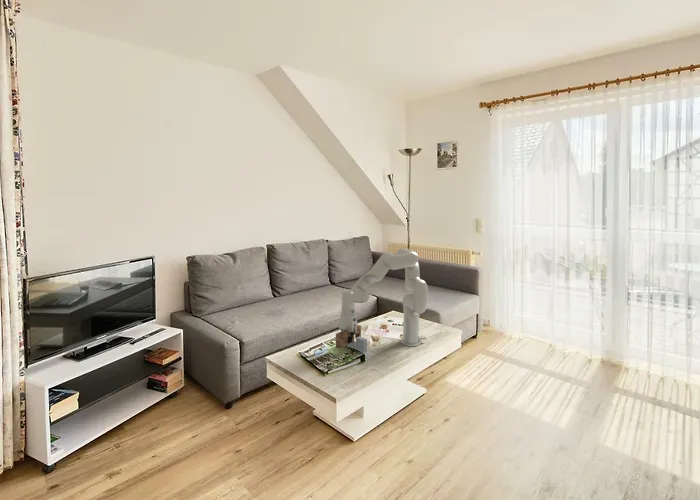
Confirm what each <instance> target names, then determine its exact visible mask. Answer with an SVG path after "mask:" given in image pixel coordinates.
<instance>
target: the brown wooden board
mask: <svg viewBox="0 0 700 500" xmlns="http://www.w3.org/2000/svg"><path fill="white" fill-rule="evenodd" d="M353 332H354V331H353ZM348 336H349V331H346V330H343V331H341V330H340V331H339V332H337V333H335V348H337V349H341V348H344V347H345V346H346V345H348V344H350V343H348ZM359 336H360V337H362V325H360V324H357V333H356V334H354V335H353V340H352V342H354V341H355V339H356V338H357V337H359ZM352 342H351V343H352Z"/></svg>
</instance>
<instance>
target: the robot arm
mask: <svg viewBox="0 0 700 500" xmlns="http://www.w3.org/2000/svg"><path fill="white" fill-rule="evenodd" d="M419 260H420V259H419V255H418V253H417V252H415V251H413V250H410V249H408V248H404V247H401V248H399V249H397V251H396V254H393V253H392V252H383V254H382V255H381V256H380V257H379V258H378V259H377V261H376V262H375V263H374V264H373V266H372V268H371V269H369V271H368V272H366V273H365V274H363V275H362V276H360V278H358V279H357V280H356V282H355V284H353V286H352V287H351V289H349V288H348V289H344V290H342V292H341V313H340V316H339V326H338V328H339V330H340V332H341V331H343V330H346V331H349V336H348V343H351V342H352V340H353V335H354V334H356V333H357V325H358V320H357V315H356V313H357V312H356V310H355V307H356V304H364V303H367V302H368V301H369V299H370V294H369V292H367V290H366V289H367V288H368V287H369V286H370V285H371V284H373V283H378V282H380V281H382V280H383V279H384V277H385V276H386V274H387V273H388V272H389V270H392V271H395V270H401V269H404V270H405V271H404V272H405V274H404V275H405V276H404V280H405V282H404V284H405V285H404V287H405V289H406V290H407V291H409V292H407V293H406V294H404V296H403V299H402V308H403V322H402V323H403V324H402V325H403V328H402V330H403V331H402V337H401V338H400V341H399V342H400V343H401V345H403V346H406V347H418V346H420V345H421V344H422V343H421V342H422V340H423V341H425V340H427V336H426V335H425V336H423V335H422V334H421V335H419V332H420V329H419V328H420V314H423V313H424V312H425V311H426V310H427V308H428V299H429V298H428V297H429V287H428V284H427V282H426V281H425V280H424V279H421V278H420V277H421V275H420V270H421V269H420V264H419ZM353 331H354V332H353ZM354 336H355V335H354Z"/></svg>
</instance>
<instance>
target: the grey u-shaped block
mask: <svg viewBox="0 0 700 500" xmlns="http://www.w3.org/2000/svg"><path fill="white" fill-rule="evenodd" d="M346 346H348V347H351V348H354V349H356V350H359V351H361V352H364V353H363V354H365V353H367V352H368V338H365V337H362V336H361V337H360V336H359V337H357V338H355V340H354V342H352V343H350V344H348V345H346ZM348 347H347V348H348ZM356 350H355V351H356ZM361 352H360V353H361Z"/></svg>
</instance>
